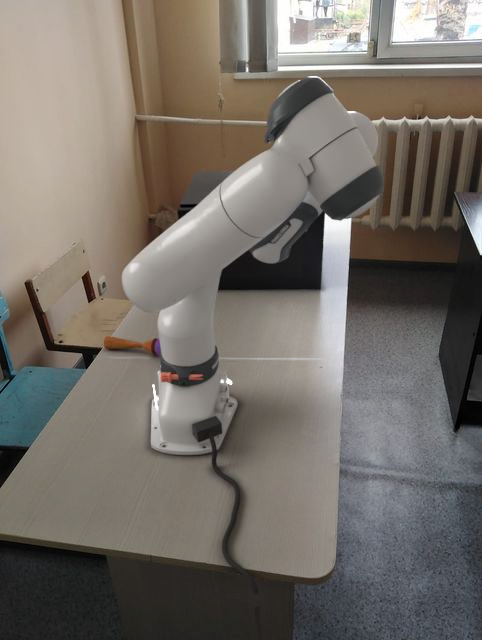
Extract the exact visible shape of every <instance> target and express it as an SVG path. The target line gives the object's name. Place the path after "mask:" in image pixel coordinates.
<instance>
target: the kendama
mask: <svg viewBox="0 0 482 640" xmlns="http://www.w3.org/2000/svg"><path fill="white" fill-rule="evenodd" d="M103 347H104V349H106V350H118V349H119V350H120V349H144V350H145V351H147V352H149V353H150V354H151V355H154V356H156V355H157V357H158V358H160V351H161V347H160V340H159V338H157V337H154V338H152V339H150V340H148V341H145V342H139V341H135V340H129V339H124V338H119V337H114V336H110V335H106V337H104V340H103Z"/></svg>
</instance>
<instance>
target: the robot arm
mask: <svg viewBox="0 0 482 640" xmlns="http://www.w3.org/2000/svg"><path fill="white" fill-rule="evenodd" d="M263 141H264V144H270V143H271V142H273V145H271V147H270V148H269V149H266V150H265V151H263V152H261V153H259V154H257V155H255V156H254V157H252V158H250V159H249V160H248V161H246V162H245V163H243V164H242V165H240V166H239V167H238V168H237V169H235V170H233V171H234V172H233V173H232V174H231V175H229V176H228V177H227V178H226V179H225V180H224V181H223V182H222V183H221V184H219V185H218V186H217V187H216V188H215V189H214V190H213V191H212V192H211V193H210V194H209V195H208V196H207V197H205V198H204V199H203V200H202V201H201V202H200V203H199V204H198V205H197V206H196V207H194V208H193V209H192V210H191V211H190V212H188V213H187V214H186V215H185V216H183V217H182V218H181V219H178V220H177V221H176V222H175V223H173V224H172V225H171V226H169V227H168V228H167V229H166V230H164V231H163V232H162V233H161V234H160V235H158V236H157V237H156V238H154V240H152V241H151V242H150V243H149V244H147V245H146V246H145V247H144V248H143V249H142V250H141V251H140V252H139V253H137V255H136V256H135V257H133V259H131V260H130V261H129V262H128V264H127V265H126V266H125V267H124V269H123V271H122V273H121V285H122V289H123V293H124V294H125V296H126V298H127V299H128V300H129V302H130V303H131V304H132V305H133V306H135V307H136V308H137V309H138V310H141V311H143V312H145V313H148V314H149V313H150V314H155V313H158V312H159V313H158V316H157V323H156V326H157V333H158V339H159V340H160V347H161V351H160V357H159V367H160V368H159V370H158V371H157V378H158V394H156V388H155V384H152V388H153V397H154V398H153V399H152V400H151V413H150V415H151V416H150V419H151V420H150V447H151V448H152V450H155V451H157V452H159V453H162V454H167V455H173V456H174V455H175V456H198V455H199V456H200V455H205V454H209V453H211V466H212V469H213V471H214V473H215V474H216V475H217V476H218V477H220V478H221V479H223V480H225V481H226V482H227V483H230V485H231V486H232V487H233V489H234V496H235V497H234V503H233V507H232V512H231V516H230V521H229V522H228V523H229V524H228V526H227V528H226V530H225V532H224V535H223V538H222V542H221V551H222V555H223V558H224V560H225V561H226V562H227V564H228V565H229V566H230V567H232V568H233V569H234V570H235V571H237V572H238V573H239V574H240V575H241V576H242V577H243V578H244V579H245V580H246V581H247V583H248V584H249V586H250V589H251V591H252V593H253V595H258V594H259V592H260V591H259V588H258V586H257V584H256V582H255V579H254V578H253V577H252V575H251V574H250V572H249V571H248V570H247V569H245V568H244V567H243V566H242V565H240V564H238V562H236V561H235V560H234V559H233V558H232V557H231V555H230V552H229V548H228V546H229V545H228V544H229V540H230V537H231V534H232V532H233V529H234V527H235V525H236V522H237V516H238V511H239V508H240V503H241V491H240V487H239V485H238V483H237V482H236V480H234V479H233V478H232V477H230V476H228V475H227V474H225V473H224V472H222V470H220V468H219V466H218V464H217V458H218V450H219V449H220V448H221V447H222V444H223V442H224V439H225V436H226V435H227V432H228V430H229V427H230V425H231V423H232V420H233V418H234V415H235V413H236V410H237V409H238V404H239V403H238V400H237V399H236V398H234V397H232V396H230V389H229V385H233V381H232V380H231V379H229V378H228V374H227V372H226V370H224V369H223V368H222V367H221V366H220V365H219V364H220V361H219V360H220V355H219V350H218V347H217V345H216V338H215V307H216V302H217V297H218V292H219V290H218V286H219V281H220V276H221V272H222V269H223V268H225V267H226V266H227V265H229V264H230V263H231V262H233V261H234V260H235V259H237V258H238V257H239V256H241V255H242V254H243V253H245V252H246V251H247V250H249V251H250V253H251V254H252V256H253V257H254V258H255V259H257V260H258V261H261V262H263V263H268V264H276V263H279V262H281V261H283V260H285V259H286V258H288V257H289V254H290V250H291V246H292V245H293V244H294V243H295V242H296V241H297V239H298V238H299V237H300V236H301V235H302V234H303V233H304V232H305V231H306V230H307V229H308V228H309V227H310V225H311V224H312V223H313V222H314V220H315V219H316V218H317V217H318V216H319V215H320V214H321V212H322V211H324V212H325V215H327V217H329V218H330V219H331V220H333V221H339V222H341V221H343V220H348V219H352V218H357V217H358V216H361V215H363V214H365V213H366V212H367V211H368V210H370V209H371V208H372V207H373V205H375V203H376V202H377V201H378V199H379V197H380V195H381V194H382V193H384V187H385V179H384V175H383V173H382V169H381V166H380V165H377V164H376V162H375V159H374V157H375V154H376V153H377V151H378V146H379V135H378V131H377V128H376V125H375V124H374V123H373V121H372V120H371V119H370V118H369V117H367V116H366V115H365V114H363V113H360V112H357V111H347V109H346V108H345V107H344V106H343V104H342V103H341V102H340V100H339V99H338V97H336V96H335V91H334V90H333V88H332V87H331V86H329V84H328V83H326V82H325V81H324V80H323V79H322V78H321V77H319V76H307V77H304V78H302V79H300V80H296V81H295V82H292V83H291V84H289V85H288V86H286V87H285V88H284V89H283V90H282V91H281V92H280V93H279V95H278V96H277V98H276V99H275V100H274V102H273V103H272V104H271V106H270V109H269V111H268V115H267V119H266V132H265V134H264V135H263ZM253 612H254V624H255V634H256V635H255V636H256V640H263V639H264V638H263V629H262V627H263V626H262V619H261V617H262V616H261V606H254V611H253Z"/></svg>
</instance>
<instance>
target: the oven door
mask: <svg viewBox="0 0 482 640" xmlns="http://www.w3.org/2000/svg"><path fill="white" fill-rule="evenodd" d="M192 209H193V208H180V207H178V208H177V219H178V220H179V219H181V218H182V217H183V216H185V215H186V214H187V213H188V212H190V211H191V210H192ZM325 222H326V213H325V212H324V211H322V212H321V214H320V215H319V216H318V217H317V218H316V219H315V220H314V222H313V223H312V224H311V225H310V227H309V228H308V229H307V230H306V231H305V232H304V233H303V234H302V235H301V236H300V237H299V238H298V239H297V241H296V242H295V243H294V244H293V245H292V246H291V250H290V254H289V257H288V258H286V259H285V260H283V261H281V262H279V263H276V264H268V263H263V262H261V261H258V260H257V259H255V258H254V257H253V256H252V254H251V253H250V251H249V250H247V251H246V252H245V253H243V254H242V255H241V256H239V257H238V258H237V259H235V260H234V261H233V262H231V263H230V264H229V265H227V266H226V267H225V268H223V269H222V272H221V276H220V281H219V286H218V291H277V290H278V291H291V290H292V291H295V290H296V291H299V290H301V291H305V290H306V291H307V290H314V291H315V290H317V291H318V290H321V289H322V278H323V277H322V276H323V275H322V274H323V259H324V258H323V256H324V239H325Z"/></svg>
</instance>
